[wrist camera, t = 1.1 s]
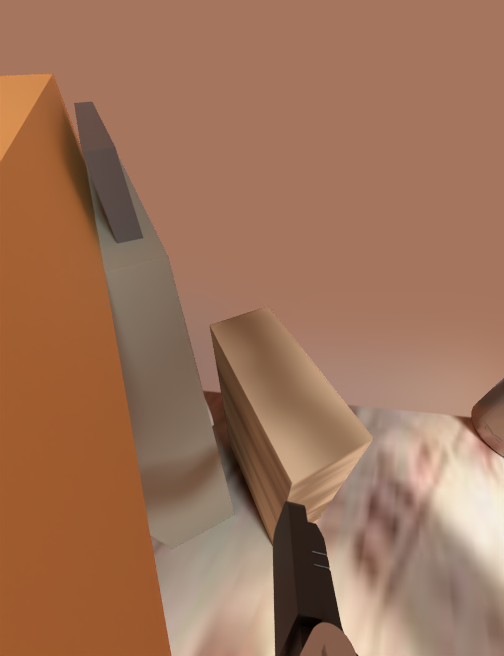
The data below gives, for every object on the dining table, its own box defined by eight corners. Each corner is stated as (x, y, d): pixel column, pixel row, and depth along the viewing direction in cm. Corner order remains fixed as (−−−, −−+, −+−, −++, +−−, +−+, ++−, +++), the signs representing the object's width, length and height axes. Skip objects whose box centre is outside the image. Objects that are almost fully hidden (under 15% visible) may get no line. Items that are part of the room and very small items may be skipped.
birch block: (264, 427, 38) (268, 306, 23) (315, 523, 30) (373, 438, 15) (230, 443, 36) (209, 325, 21) (274, 549, 29) (292, 483, 13)
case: (200, 414, 39) (105, 97, 15) (237, 513, 31) (156, 157, 6) (147, 436, 37) (-65, 109, 13) (171, 548, 29) (-317, 221, 4)
